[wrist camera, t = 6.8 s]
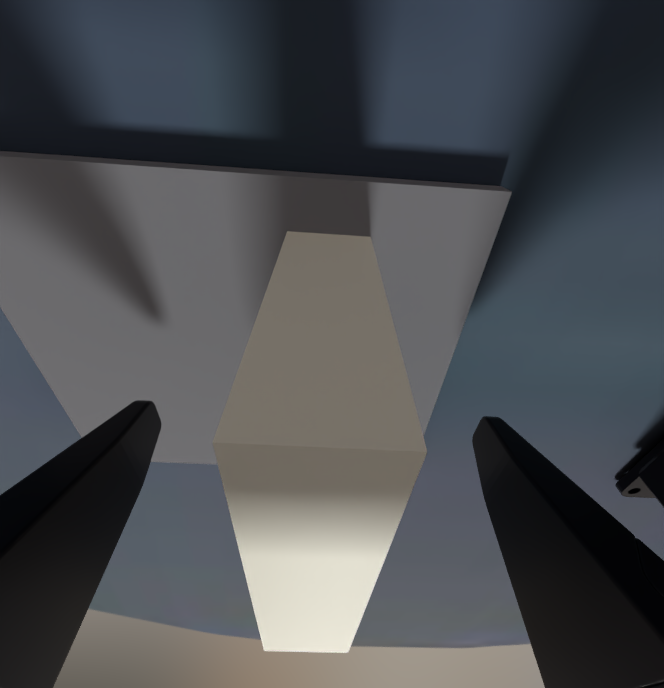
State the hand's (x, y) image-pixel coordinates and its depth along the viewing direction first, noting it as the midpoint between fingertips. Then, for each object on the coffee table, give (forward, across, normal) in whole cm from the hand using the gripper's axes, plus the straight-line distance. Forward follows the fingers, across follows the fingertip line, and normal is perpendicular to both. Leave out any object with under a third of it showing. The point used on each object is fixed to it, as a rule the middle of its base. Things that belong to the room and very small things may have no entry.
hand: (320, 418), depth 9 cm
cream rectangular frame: (+2, 0, 0) cm, 2 cm away
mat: (+3, +2, 0) cm, 4 cm away
